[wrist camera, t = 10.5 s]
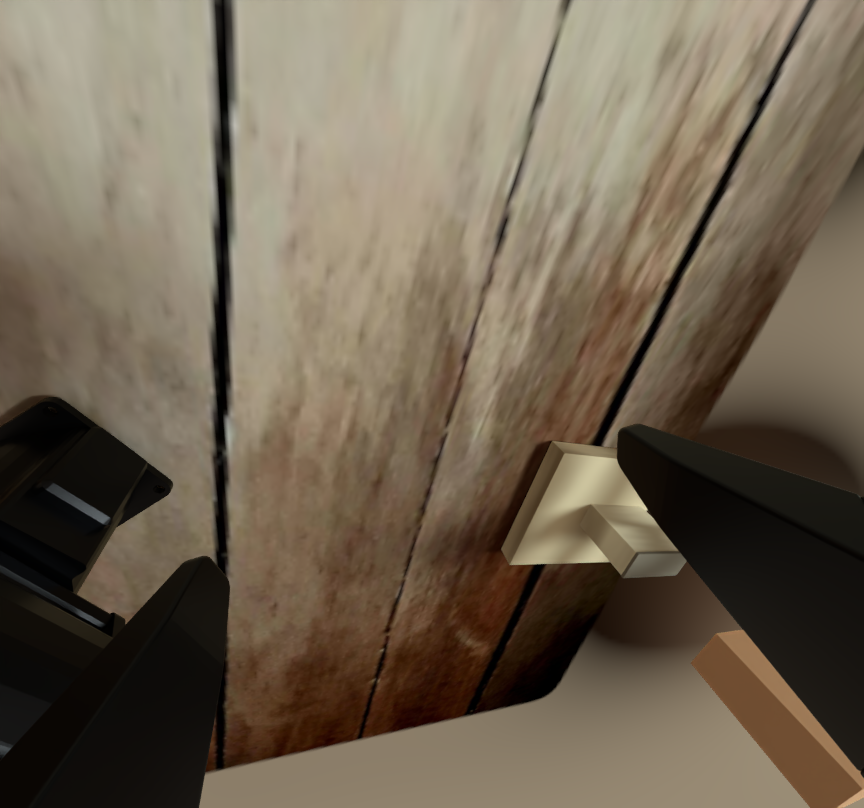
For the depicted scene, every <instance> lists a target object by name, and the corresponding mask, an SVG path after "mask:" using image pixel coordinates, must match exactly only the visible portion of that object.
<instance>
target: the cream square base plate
mask: <svg viewBox="0 0 864 808" xmlns="http://www.w3.org/2000/svg"><path fill="white" fill-rule="evenodd" d="M647 510H648V509H647V508H646V506H645V505H644V503H643V502H642V500H641V499H640V497H639V496H638V494H637V493H636V491H635V490H634V488H633V487H632V485H631V484H630V482H629V481H628V479H627V477H626V476H625V474H624V473H623V471H622V470H621V468H620V467H619V464H618V461H617V448H608V447H600V446H591V445H583V444H574V443H566V442H557V441H552V442H551V444H550V446H549V448H548V451H547V453H546V455H545V457H544V459H543V461H542V463H541V465H540V468H539V470H538V472H537V474H536V476H535V478H534V480H533V482H532V485H531V487H530V489H529V491H528V493H527V495H526V497H525V499H524V502H523V504H522V506H521V508H520V510H519V512H518V514H517V516H516V519H515V521H514V523H513V525H512V527H511V529H510V531H509V533H508V536H507V538H506V540H505V542H504V544H503V546H502V548H501V550H502V552H503V554H504V556H505V557H506V559H507V561H508V563H509V565H523V564H556V563H589V562H611V563H612V565H613V566H614V567H615V568H616V569H617V571H618V572H619V573H620V574H621V576H622V578H636V577H654V576H674V575H677V573H678V572H679V571H680V569H681V568H682V567H683V565H684V564H685V562H686V559H685V558H684V557H683V556H682V554H681V553H680V552H679V551H678V550H677V548H676V547H675V546H674V545H673V543H672V542H671V541H670V540H669V538H668V537H667V536H666V535H665V533H664V532H663V531H662V530H661V528H660V527H659V526H658V524H657V523H656V521H655V520H654V518H653V517H651V516H650V515H649V514H648V513H647V512H646V511H647Z"/></svg>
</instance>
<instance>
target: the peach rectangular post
mask: <svg viewBox="0 0 864 808" xmlns="http://www.w3.org/2000/svg"><path fill="white" fill-rule="evenodd" d="M691 664H692V665H693V666H694V667H695V669H696V670H697V671H698V672H699V674H700V675H701V676H702V677H703V678H704V680H705V681H706V682H707V683H708V684H709V685H710V687H711V688H712V689H713V691H715V693H716V694H717V695H718V697H719V698H720V699H721V700H722V701H723V703H724V704H725V705H726V706H727V707H728V708H729V710H730V711H731V712H732V713H733V715H734V716H735V717H736V718H737V719H738V721H739V722H740V723H741V724H742V726H743V727H744V728H745V729H746V730H747V732H748V733H749V734H750V735H751V736H752V738H753V739H754V740H755V741H756V742H757V744H758V745H759V746H760V747H761V748H762V750H763V751H764V752H765V753H766V755H767V756H768V757H769V758H770V759H771V761H772V762H773V763H774V764H775V765H776V767H777V768H778V769H779V770H780V772H781V773H782V774H783V775H784V776H785V778H786V779H787V780H788V781H789V782H790V784H791V785H792V786H793V787H794V788H795V790H796V791H797V792H798V793H799V794H800V796H801V797H802V798H803V799H804V800H805V802H806V803H807V804H808V805H809V807H810V808H843V807H845V806H847V805H849V804H851V803H853V802H855V801H857V800H859V799H861V798H863V797H864V778H863V777H862V776H861V774H860V772H861V771H859V770H857V769H856V768H855V766H854V765H853V764H852V763H851V762H850V760H849V759H848V758H847V757H846V755H845V754H844V753H843V752H842V751H841V749H840V748H839V747H838V746H837V744H836V743H835V742H834V741H833V739H832V738H831V737H830V736H829V735H828V733H827V732H826V731H825V730H824V728H823V727H822V726H821V725H820V724H819V722H818V721H817V720H816V719H815V717H814V716H813V715H812V714H811V713H810V711H809V710H808V709H807V708H806V706H805V705H804V704H803V703H802V701H801V700H800V699H799V698H798V697H797V695H796V694H795V693H794V692H793V690H792V689H791V688H790V687H789V686H788V684H787V683H786V682H785V681H784V679H783V678H782V677H781V676H780V675H779V673H778V672H777V671H776V670H775V668H774V667H773V666H772V665H771V663H770V662H769V661H768V660H767V659H766V657H765V656H764V655H763V654H762V652H761V651H760V650H759V649H758V648H757V646H756V645H755V644H754V643H753V641H752V640H751V639H750V638H749V637H748V635H747V634H746V633H745V632H744V630H737V631H730V632H723V633H716V634H715V635H714V637H713V638H712V639H711V640H710V641H709V642H708V644H707V645H706V646H705V647H704V648H703V649H702V650H701V652H700V653H699V654H698V655H697V656H696V657H695V659H694V660H693V661H692V662H691Z"/></svg>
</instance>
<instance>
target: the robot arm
mask: <svg viewBox="0 0 864 808" xmlns="http://www.w3.org/2000/svg"><path fill="white" fill-rule="evenodd" d="M48 407H53V408H55V409H56V410H57V411H58V413H55V412H52V411H50V409H49V408H48ZM617 461H618V464H619V467H620V468H621V470H622V471H623V473H624V474H625V476H626V477H627V479H628V481H629V482H630V484H631V485H632V487H633V488H634V490H635V491H636V493H637V494H638V496H639V497H640V499H641V500H642V502H643V503H644V505H645V506H646V508H647V509H648V511H649V513H650V514H651V516H652V517H653V518H654V520H655V521H656V523H657V524H658V526H659V527H660V528H661V530H662V531H663V532H664V533H665V535H666V536H667V537H668V538H669V540H670V541H671V542H672V543H673V545H674V546H675V547H676V548H677V550H678V551H679V552H680V553H681V554H682V556H683V557H684V558H685V559H686V561H687V562H688V563H689V564H690V565H691V567H692V568H693V569H694V570H695V571H696V573H697V574H698V575H699V576H700V578H701V579H702V580H703V581H704V582H705V584H706V585H707V586H708V587H709V589H710V590H711V591H712V592H713V594H714V595H715V596H716V597H717V598H718V600H719V601H720V602H721V603H722V604H723V606H724V607H725V608H726V610H727V611H728V612H729V613H730V614H731V616H732V617H733V618H734V619H735V620H736V622H737V623H738V624H739V625H740V627H741V628H742V629H743V630H744V632H745V633H746V634H747V635H748V637H749V638H750V639H751V640H752V641H753V643H754V644H755V645H756V646H757V648H758V649H759V650H760V651H761V652H762V654H763V655H764V656H765V657H766V659H767V660H768V661H769V662H770V663H771V665H772V666H773V667H774V668H775V670H776V671H777V672H778V673H779V675H780V676H781V677H782V678H783V679H784V681H785V682H786V683H787V684H788V686H789V687H790V688H791V689H792V690H793V692H794V693H795V694H796V695H797V697H798V698H799V699H800V700H801V701H802V703H803V704H804V705H805V706H806V708H807V709H808V710H809V711H810V713H811V714H812V715H813V716H814V717H815V719H816V720H817V721H818V722H819V724H820V725H821V726H822V727H823V728H824V730H825V731H826V732H827V733H828V735H829V736H830V737H831V738H832V739H833V741H834V742H835V743H836V744H837V746H838V747H839V748H840V749H841V751H842V752H843V753H844V754H845V755H846V757H847V758H848V759H849V760H850V762H851V763H852V764H853V765H854V766H855V768H856V769H857V770H859V771H861V772H860V774H861V776H862V777H863V778H864V497H859V495H857V494H855V493H852V492H849V491H846V490H843V489H840V488H836V487H833V486H830V485H827V484H824V483H821V482H818V481H815V480H812V479H809V478H805V477H803V476H799V475H796V474H793V473H790V472H787V471H784V470H781V469H778V468H775V467H772V466H769V465H765V464H762V463H759V462H756V461H753V460H750V459H747V458H744V457H741V456H738V455H735V454H732V453H729V452H725V451H722V450H719V449H716V448H713V447H710V446H707V445H704V444H701V443H697V442H695V441H692V440H689V439H685V438H682V437H679V436H676V435H673V434H670V433H667V432H664V431H661V430H658V429H655V428H652V427H648V426H645V425H642V424H634V425H630V426H627V427H624V428H621V429H620V430H619V432H618V442H617ZM157 485H160V486H163V487H164V488H158V487H157ZM172 487H173V482H172V481H171V480H170V479H169V478H168V477H166V476H165V475H164V474H162V473H161V472H160V471H158V470H157V469H156V468H154V467H153V466H151V465H150V464H149V463H147V461H146V460H144V459H143V458H142V457H140V456H139V455H138V454H136V453H135V452H134V451H132V450H131V449H130V448H128V447H127V446H126V445H124V444H123V443H122V442H120V441H119V440H118V439H116V438H115V437H114V436H112V435H111V434H110V433H108V432H107V431H106V430H104V429H103V428H100V427H99V426H98V425H96V424H95V423H94V422H92V421H91V420H90V419H88V418H87V417H86V416H84V415H83V414H82V413H80V412H79V411H78V410H76V409H75V408H74V407H72V406H71V405H70V404H68V403H67V402H66V401H64V400H62V399H60V398H56V397H49V398H46V399H44V400H42V401H41V402H39V403H37V404H36V405H34V406H33V407H31V408H30V409H28V410H26V411H25V412H23V413H22V414H20V415H18V416H17V417H15V418H14V419H12V420H11V421H9V422H7V423H6V424H4V425H3V426H1V427H0V808H199V804H200V799H201V793H202V787H203V781H204V776H205V770H206V765H207V759H208V753H209V748H210V742H211V736H212V731H213V725H214V720H215V714H216V708H217V703H218V697H219V691H220V686H221V680H222V674H223V667H224V658H225V648H226V634H227V621H228V608H229V594H230V585H229V581H228V579H227V577H226V575H225V574H224V573H223V572H222V571H221V570H220V568H219V567H218V566H217V565H216V564H215V563H214V561H213V560H212V559H211V558H210V557H208V556H200V557H197V558H194V559H191V560H188V561H186V562H184V563H183V564H182V565H181V566H180V567H179V568H178V569H177V570H176V571H175V572H174V573H173V574H172V575H171V576H170V577H169V579H168V580H167V581H166V582H165V583H164V584H163V585H162V586H161V587H160V588H159V589H158V590H157V592H156V593H155V594H154V595H153V596H152V597H151V598H150V599H149V600H148V601H147V602H146V603H145V604H144V606H143V607H142V608H141V609H140V610H139V611H138V612H137V613H136V614H135V615H134V616H133V617H132V619H131V620H130V621H129V622H128V623H127V624H126V625H125V619H124V618H122V617H121V616H119V615H117V614H116V613H111V614H109V613H108V612H106V611H104V610H102V609H101V608H99V607H97V606H96V605H94V604H92V603H90V602H89V601H87V600H85V599H84V598H82V597H80V596H78V595H77V593H78V591H79V589H80V588H81V586H82V584H83V583H84V581H85V579H86V578H87V576H88V574H89V572H90V571H91V569H92V567H93V566H94V564H95V562H96V561H97V559H98V557H99V556H100V554H101V552H102V550H103V549H104V547H105V545H106V544H107V542H108V540H109V539H110V537H111V535H112V534H113V532H114V530H115V529H116V527H118V526H119V525H121V524H123V523H124V522H126V521H127V520H129V519H131V518H132V517H134V516H135V515H137V514H139V513H140V512H142V511H143V510H145V509H146V508H148V507H150V506H151V505H153V504H154V503H156V502H158V501H159V500H161V499H162V498H164V497H166V496H167V495H168V494H169V493H170V492H171V489H172Z"/></svg>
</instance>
